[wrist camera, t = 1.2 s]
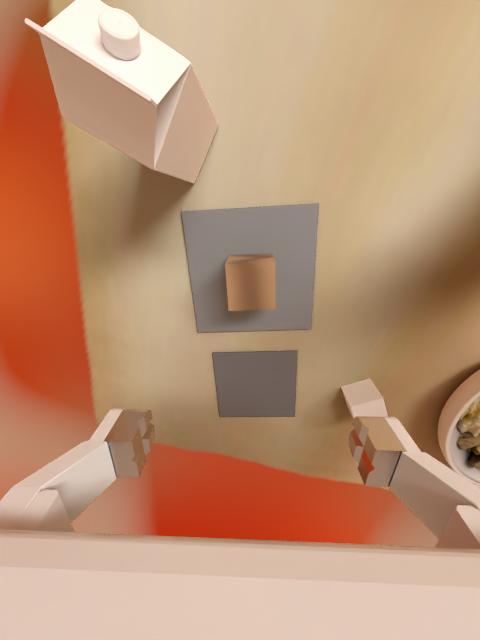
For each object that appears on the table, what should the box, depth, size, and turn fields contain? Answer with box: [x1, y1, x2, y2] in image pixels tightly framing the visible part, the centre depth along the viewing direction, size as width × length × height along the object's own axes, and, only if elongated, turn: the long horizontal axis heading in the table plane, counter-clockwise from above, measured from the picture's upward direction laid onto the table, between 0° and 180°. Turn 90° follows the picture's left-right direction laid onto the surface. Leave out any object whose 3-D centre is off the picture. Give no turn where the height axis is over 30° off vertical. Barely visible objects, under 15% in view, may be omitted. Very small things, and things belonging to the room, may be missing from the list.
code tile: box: [181, 203, 319, 332], centre depth 38 cm, size 18×18×1 cm
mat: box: [213, 351, 297, 417], centre depth 46 cm, size 14×14×1 cm
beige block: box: [341, 378, 388, 419], centre depth 43 cm, size 5×5×5 cm
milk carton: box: [25, 0, 219, 184], centre depth 23 cm, size 7×7×19 cm
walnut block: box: [225, 253, 276, 311], centre depth 35 cm, size 6×6×6 cm
